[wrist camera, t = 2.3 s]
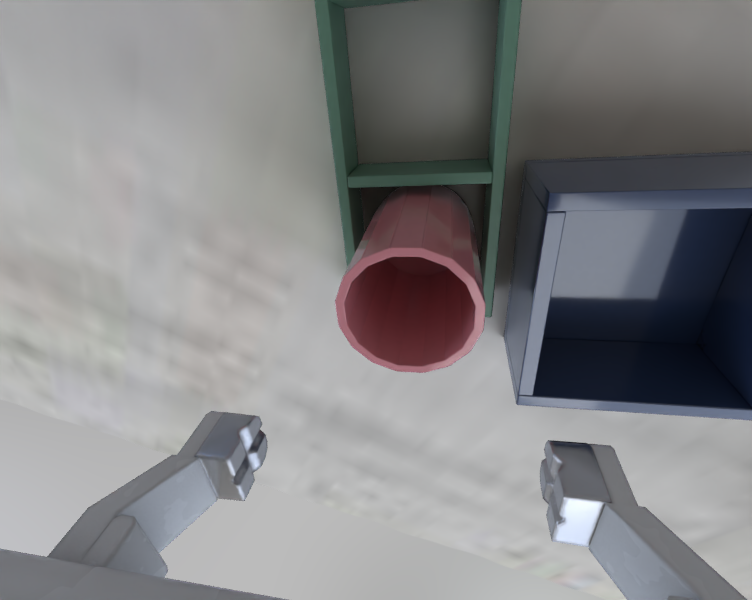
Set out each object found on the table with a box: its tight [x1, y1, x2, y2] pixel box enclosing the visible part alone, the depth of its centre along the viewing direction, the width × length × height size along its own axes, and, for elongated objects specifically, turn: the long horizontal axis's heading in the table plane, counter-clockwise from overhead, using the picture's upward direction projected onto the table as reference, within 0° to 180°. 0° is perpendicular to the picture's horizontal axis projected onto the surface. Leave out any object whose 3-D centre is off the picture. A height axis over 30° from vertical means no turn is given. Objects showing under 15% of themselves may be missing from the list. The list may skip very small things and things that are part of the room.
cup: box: [335, 185, 486, 373], centre depth 20 cm, size 6×6×10 cm
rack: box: [315, 0, 522, 317], centre depth 21 cm, size 16×8×3 cm, turn 4°
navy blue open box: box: [504, 151, 752, 420], centre depth 21 cm, size 12×12×6 cm
